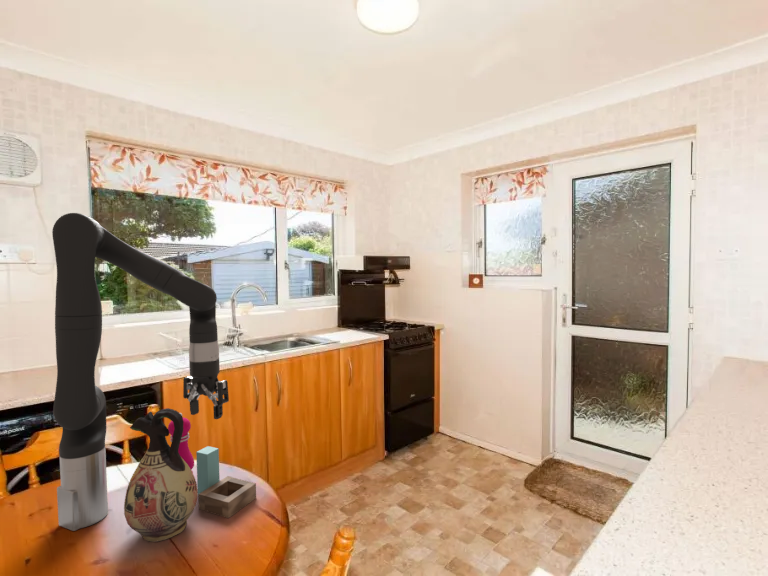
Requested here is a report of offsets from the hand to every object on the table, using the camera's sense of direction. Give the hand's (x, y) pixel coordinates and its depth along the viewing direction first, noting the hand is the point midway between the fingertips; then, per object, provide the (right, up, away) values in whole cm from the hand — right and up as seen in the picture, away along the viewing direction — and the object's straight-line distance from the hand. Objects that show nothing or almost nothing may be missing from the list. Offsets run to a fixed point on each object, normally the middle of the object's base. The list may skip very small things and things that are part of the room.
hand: (206, 416), depth 115 cm
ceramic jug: (-3, -23, -16) cm, 28 cm away
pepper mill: (-11, -22, +8) cm, 25 cm away
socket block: (+8, -22, -4) cm, 23 cm away
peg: (0, -22, +1) cm, 22 cm away
